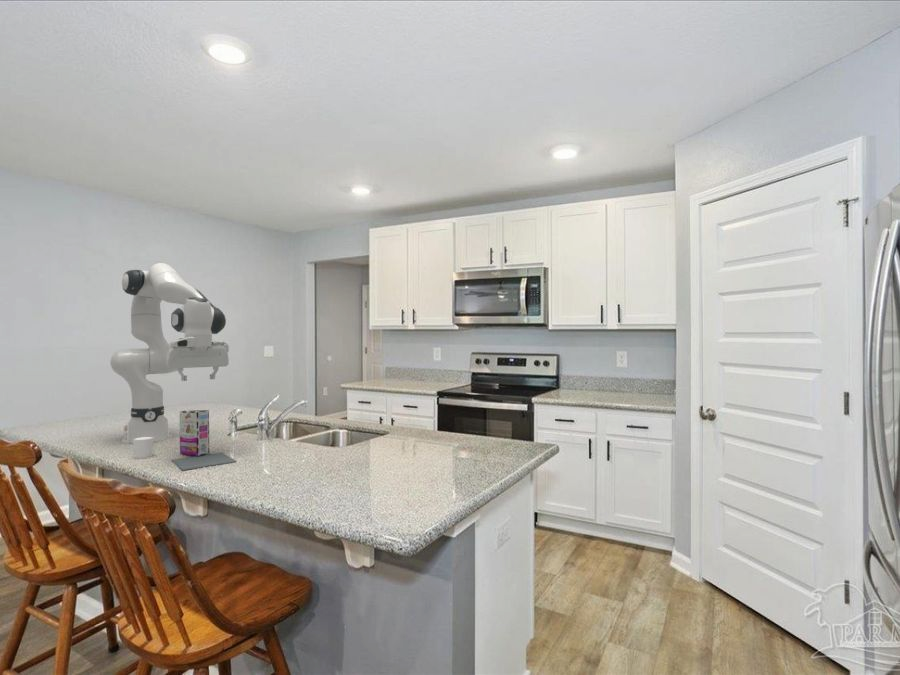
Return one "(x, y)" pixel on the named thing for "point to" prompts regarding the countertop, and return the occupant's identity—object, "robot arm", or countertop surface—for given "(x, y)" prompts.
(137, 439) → the white cylinder
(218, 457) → the mat
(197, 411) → the candy bar box
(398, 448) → the countertop surface
